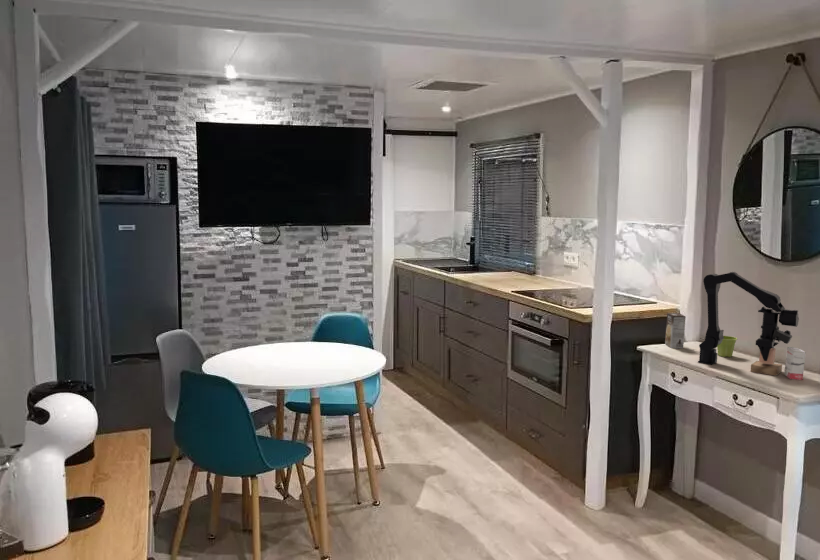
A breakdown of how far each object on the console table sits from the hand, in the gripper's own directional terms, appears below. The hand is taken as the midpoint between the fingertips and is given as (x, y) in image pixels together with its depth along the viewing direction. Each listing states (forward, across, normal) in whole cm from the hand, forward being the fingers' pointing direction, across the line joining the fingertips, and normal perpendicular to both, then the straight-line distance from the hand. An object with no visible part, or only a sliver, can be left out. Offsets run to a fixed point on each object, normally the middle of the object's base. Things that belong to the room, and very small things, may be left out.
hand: (766, 359), depth 301 cm
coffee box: (+5, +26, +47) cm, 54 cm away
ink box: (+5, -3, -11) cm, 13 cm away
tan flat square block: (+5, 0, 0) cm, 5 cm away
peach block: (+1, 0, 0) cm, 1 cm away
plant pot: (+5, +21, +22) cm, 31 cm away
